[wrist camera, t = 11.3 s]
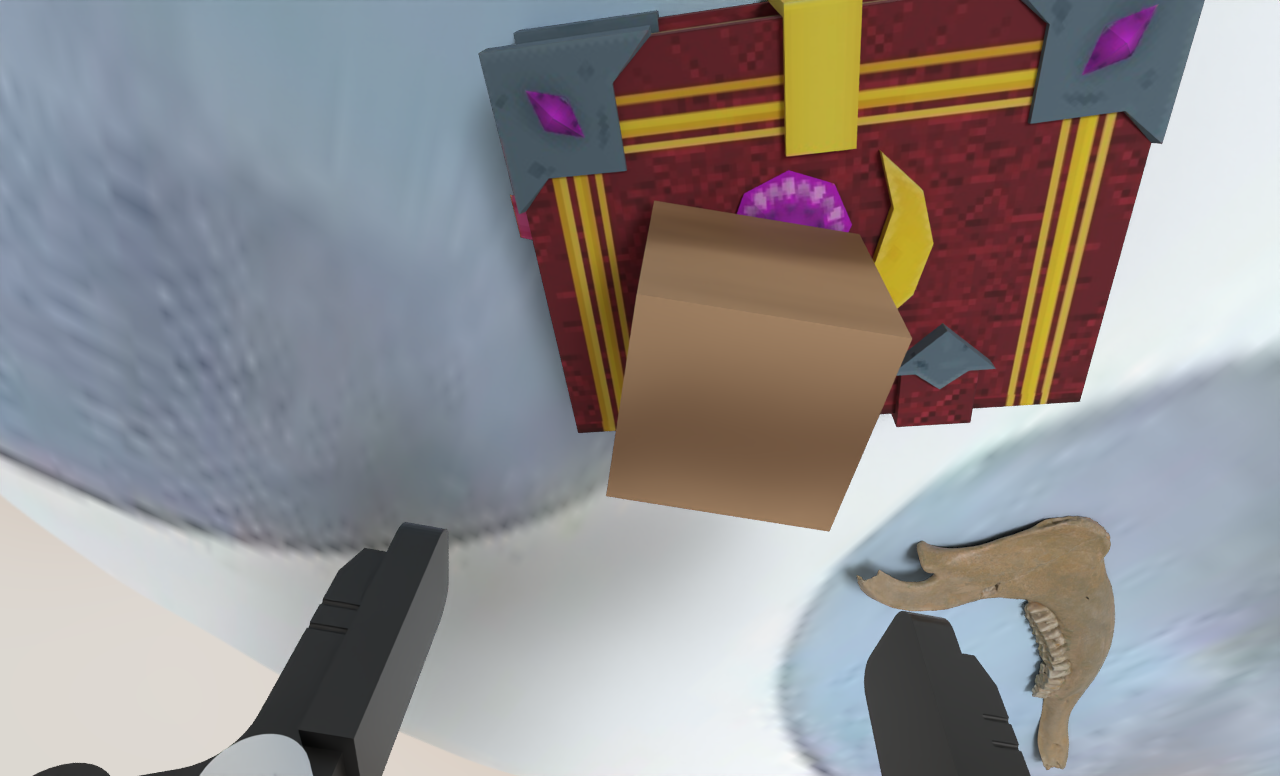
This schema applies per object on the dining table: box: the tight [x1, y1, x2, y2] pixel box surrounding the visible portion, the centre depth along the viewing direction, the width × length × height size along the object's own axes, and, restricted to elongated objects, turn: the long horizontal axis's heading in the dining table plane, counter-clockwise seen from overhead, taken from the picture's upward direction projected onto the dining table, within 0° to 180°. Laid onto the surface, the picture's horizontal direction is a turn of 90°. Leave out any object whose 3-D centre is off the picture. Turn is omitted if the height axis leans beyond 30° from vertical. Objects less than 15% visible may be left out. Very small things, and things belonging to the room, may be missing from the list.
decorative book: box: [478, 0, 1205, 433], centre depth 19 cm, size 11×16×5 cm
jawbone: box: [857, 516, 1115, 770], centre depth 31 cm, size 9×20×2 cm, turn 41°
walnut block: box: [606, 201, 912, 531], centre depth 16 cm, size 5×5×5 cm
